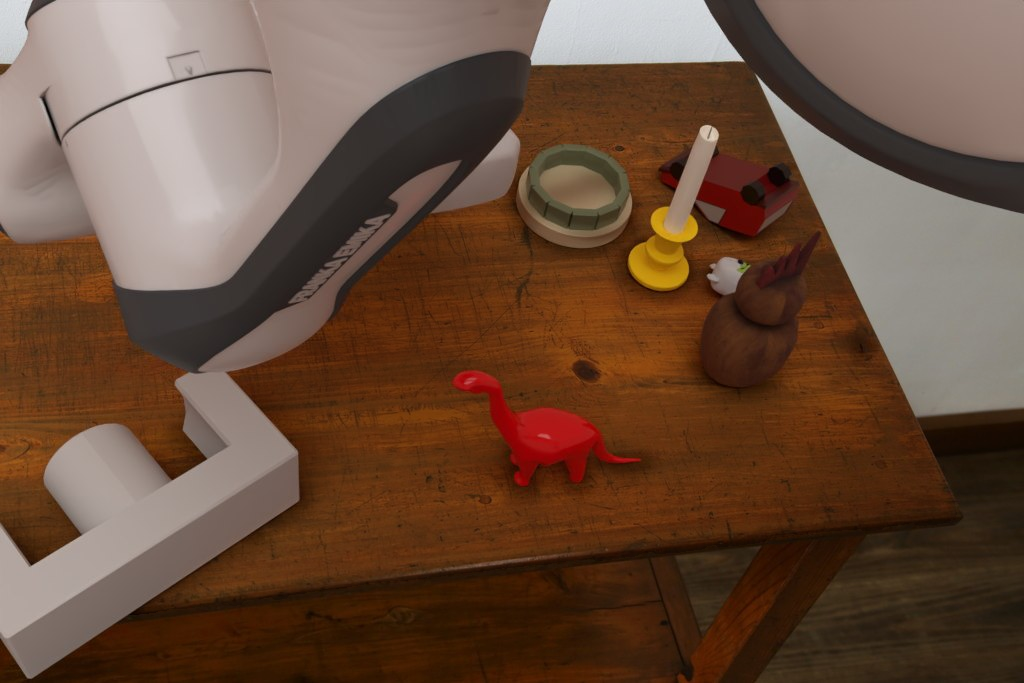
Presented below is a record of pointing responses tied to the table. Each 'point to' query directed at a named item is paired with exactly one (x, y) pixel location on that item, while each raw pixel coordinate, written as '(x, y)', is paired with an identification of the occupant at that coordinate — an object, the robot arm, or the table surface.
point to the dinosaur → (539, 432)
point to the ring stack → (575, 196)
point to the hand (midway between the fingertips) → (498, 44)
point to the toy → (731, 277)
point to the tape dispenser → (142, 519)
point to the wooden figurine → (756, 320)
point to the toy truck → (738, 191)
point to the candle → (674, 224)
